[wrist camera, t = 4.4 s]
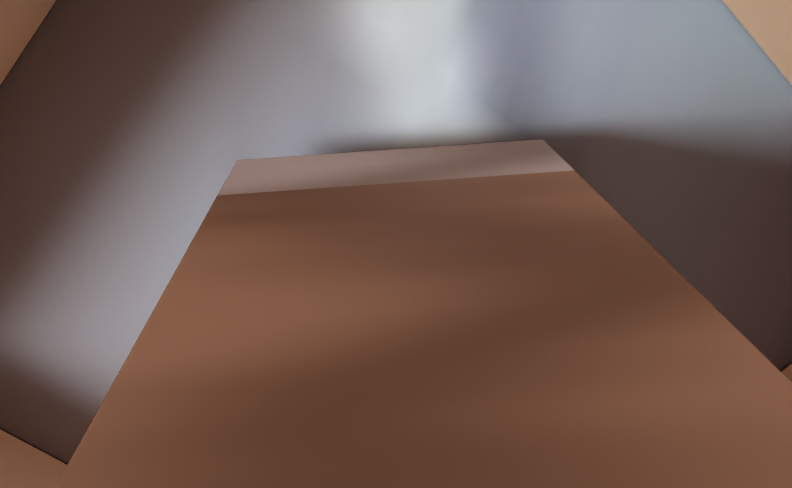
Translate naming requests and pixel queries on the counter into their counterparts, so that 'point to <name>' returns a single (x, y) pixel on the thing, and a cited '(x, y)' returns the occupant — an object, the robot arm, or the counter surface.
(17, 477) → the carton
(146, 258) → the counter surface
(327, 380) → the walnut box
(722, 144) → the counter surface
